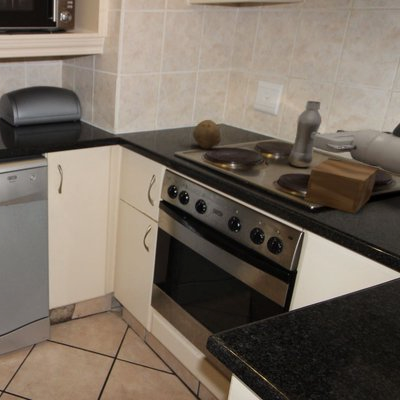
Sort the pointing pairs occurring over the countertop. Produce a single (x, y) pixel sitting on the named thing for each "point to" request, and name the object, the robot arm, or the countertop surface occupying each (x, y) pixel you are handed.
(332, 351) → the countertop surface
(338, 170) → the wooden block
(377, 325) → the countertop surface
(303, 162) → the plastic bottle
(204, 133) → the brown coconut
